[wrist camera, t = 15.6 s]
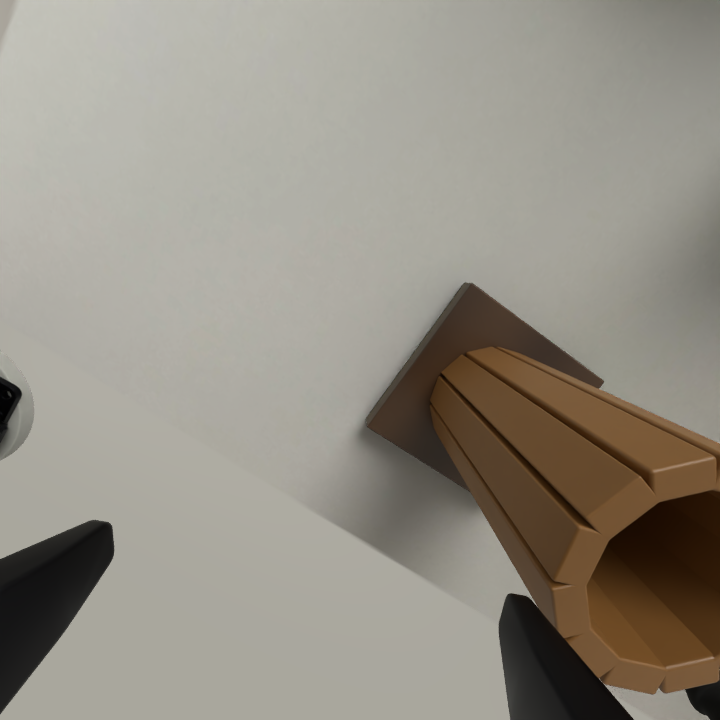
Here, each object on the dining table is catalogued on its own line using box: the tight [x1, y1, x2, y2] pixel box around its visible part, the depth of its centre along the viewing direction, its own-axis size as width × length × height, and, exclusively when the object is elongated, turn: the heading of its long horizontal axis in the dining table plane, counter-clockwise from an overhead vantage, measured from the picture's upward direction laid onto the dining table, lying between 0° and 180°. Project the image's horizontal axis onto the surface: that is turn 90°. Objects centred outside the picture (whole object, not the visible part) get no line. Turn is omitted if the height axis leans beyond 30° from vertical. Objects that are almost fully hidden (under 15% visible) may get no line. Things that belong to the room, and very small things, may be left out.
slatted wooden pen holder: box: [430, 347, 720, 695], centre depth 14 cm, size 6×6×12 cm
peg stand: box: [366, 283, 604, 492], centre depth 18 cm, size 9×9×6 cm
